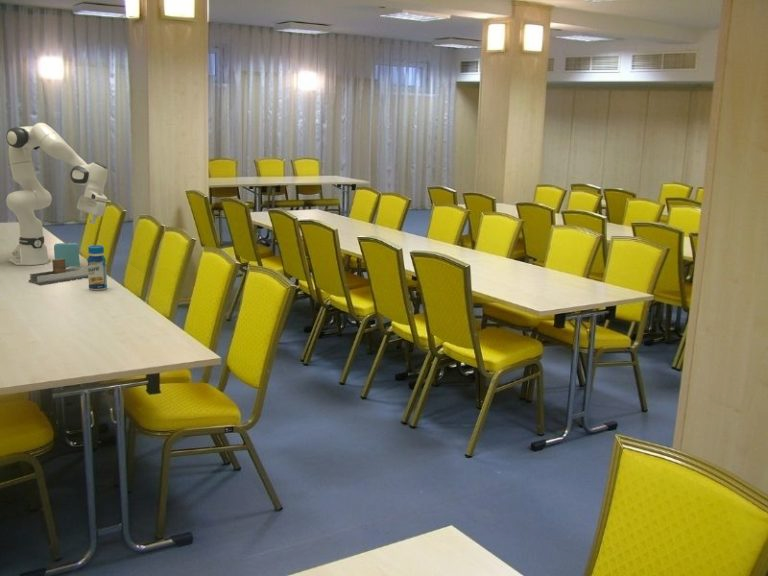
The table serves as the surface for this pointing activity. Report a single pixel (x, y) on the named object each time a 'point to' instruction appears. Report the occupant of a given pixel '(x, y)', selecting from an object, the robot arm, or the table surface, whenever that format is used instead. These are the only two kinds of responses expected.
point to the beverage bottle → (97, 268)
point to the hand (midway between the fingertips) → (87, 221)
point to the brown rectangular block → (59, 266)
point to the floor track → (58, 276)
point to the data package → (67, 253)
